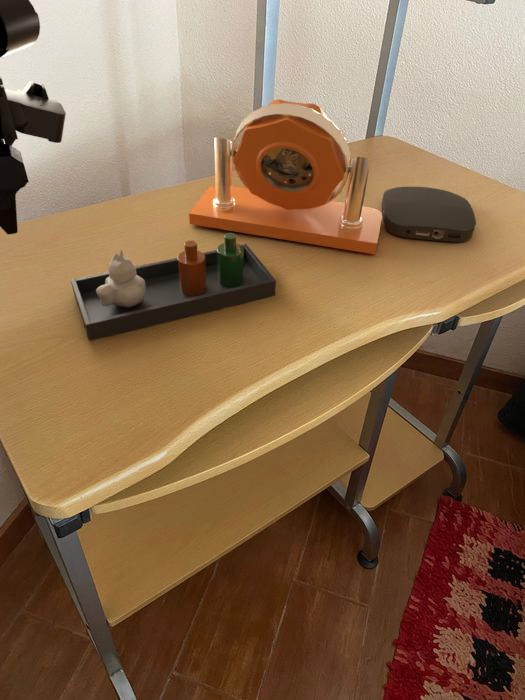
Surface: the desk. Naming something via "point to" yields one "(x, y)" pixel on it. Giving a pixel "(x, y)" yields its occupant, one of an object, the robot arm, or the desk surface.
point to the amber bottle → (192, 270)
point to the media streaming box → (427, 214)
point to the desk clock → (290, 181)
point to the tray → (168, 295)
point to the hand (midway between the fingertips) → (9, 214)
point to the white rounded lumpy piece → (122, 284)
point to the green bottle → (230, 261)
